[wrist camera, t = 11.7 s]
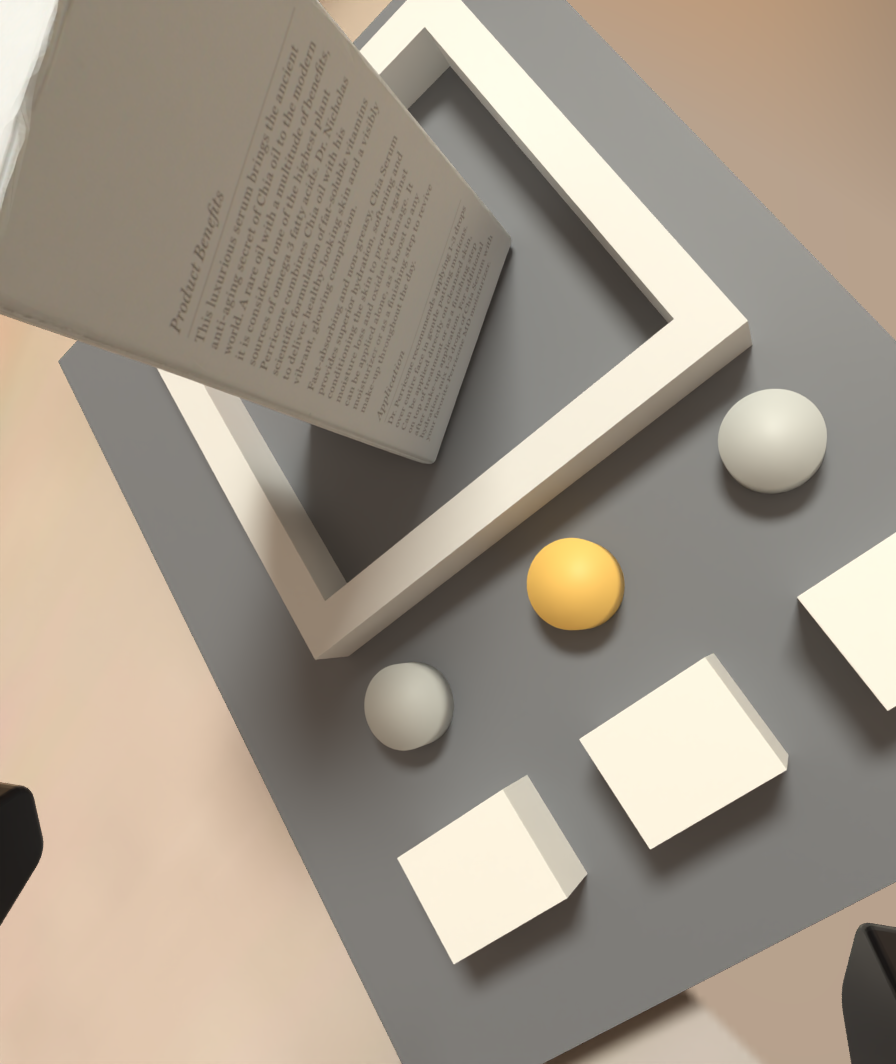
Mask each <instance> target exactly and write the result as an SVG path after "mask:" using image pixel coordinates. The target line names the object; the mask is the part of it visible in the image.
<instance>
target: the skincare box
mask: <svg viewBox="0 0 896 1064" xmlns="http://www.w3.org/2000/svg"><path fill="white" fill-rule="evenodd" d="M511 240H512V239H511V236H510V235H509V234H508V232H507V231H506V230H505V229H504V227H503V226H502V225H501V224H500V222H499V221H498V220H497V219H496V218H495V216H494V215H493V214H492V213H491V211H490V210H489V209H488V208H487V207H486V205H485V204H484V203H483V202H482V200H481V199H480V198H479V197H478V196H477V194H476V193H475V192H474V191H473V190H472V188H471V187H470V186H469V184H468V183H467V182H466V181H465V180H464V179H463V177H462V176H461V175H460V174H459V172H458V171H457V170H456V169H455V168H454V166H453V165H452V164H451V163H450V161H449V160H448V159H447V158H446V157H445V155H444V154H443V153H442V152H441V151H440V149H439V148H438V147H437V145H436V144H435V143H434V142H433V141H432V139H431V138H430V137H429V136H428V134H427V133H426V132H425V131H424V129H423V128H422V127H421V126H420V124H419V123H418V122H417V121H416V119H415V118H414V117H413V116H412V115H411V113H410V112H409V111H408V110H407V109H406V107H405V106H404V105H403V104H402V103H401V101H400V100H399V99H398V97H397V96H396V95H395V94H394V93H393V91H392V90H391V89H390V88H389V86H388V85H387V84H386V83H385V82H384V80H383V79H382V78H381V76H380V75H379V74H378V73H377V71H376V70H375V69H374V68H373V67H372V66H371V64H370V63H369V62H368V61H367V60H366V58H365V57H364V56H363V55H362V54H361V52H360V51H359V50H358V49H357V48H356V46H355V45H354V44H353V43H352V42H351V40H350V39H349V38H348V37H347V35H346V34H345V33H344V32H343V30H342V29H341V28H340V27H339V25H338V24H337V23H336V22H335V21H334V19H333V18H332V17H331V16H330V15H329V14H328V12H327V11H326V10H325V9H324V7H323V6H322V5H321V3H320V2H319V1H318V0H0V314H2V315H4V316H7V317H10V318H13V319H16V320H19V321H22V322H24V323H27V324H30V325H33V326H36V327H39V328H42V329H45V330H48V331H51V332H54V333H57V334H60V335H62V336H65V337H68V338H71V339H74V340H77V341H80V342H83V343H86V344H89V345H92V346H95V347H98V348H101V349H103V350H106V351H109V352H112V353H115V354H118V355H121V356H124V357H127V358H130V359H133V360H136V361H139V362H141V363H144V364H147V365H150V366H153V367H156V368H159V369H161V370H164V371H167V372H170V373H173V374H175V375H178V376H181V377H184V378H187V379H189V380H192V381H195V382H198V383H200V384H203V385H206V386H209V387H212V388H214V389H217V390H220V391H223V392H225V393H228V394H231V395H234V396H236V397H239V398H242V399H245V400H248V401H250V402H253V403H256V404H258V405H261V406H264V407H266V408H269V409H272V410H274V411H277V412H280V413H283V414H285V415H288V416H291V417H293V418H296V419H299V420H301V421H304V422H307V423H309V424H312V425H315V426H318V427H321V428H323V429H326V430H329V431H332V432H334V433H337V434H340V435H343V436H346V437H348V438H351V439H354V440H357V441H360V442H362V443H365V444H368V445H371V446H374V447H376V448H379V449H382V450H385V451H388V452H391V453H394V454H397V455H400V456H402V457H405V458H408V459H411V460H414V461H417V462H421V463H425V464H432V463H434V462H435V460H436V458H437V455H438V452H439V449H440V446H441V443H442V440H443V437H444V434H445V431H446V428H447V425H448V423H449V420H450V417H451V414H452V411H453V408H454V405H455V402H456V399H457V396H458V393H459V390H460V388H461V385H462V382H463V379H464V376H465V373H466V371H467V368H468V365H469V362H470V359H471V356H472V353H473V350H474V348H475V345H476V342H477V339H478V336H479V333H480V330H481V327H482V325H483V322H484V319H485V316H486V313H487V310H488V307H489V305H490V302H491V299H492V296H493V293H494V291H495V288H496V285H497V282H498V279H499V276H500V273H501V270H502V267H503V265H504V262H505V259H506V256H507V254H508V251H509V248H510V245H511Z"/></svg>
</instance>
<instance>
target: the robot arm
mask: <svg viewBox="0 0 896 1064" xmlns="http://www.w3.org/2000/svg"><path fill="white" fill-rule="evenodd" d="M42 851H43V836H42V832H41V827H40V823H39V819H38V814H37V810H36V805H35V801H34V797H33V794H32V792H31V791H30V790H29V789H28V788H26V787H24V786H20V785H14V784H8V783H2V782H0V925H1V924H2V922H3V920H4V919H5V917H6V916H7V914H8V912H9V911H10V909H11V907H12V906H13V904H14V902H15V901H16V899H17V898H18V896H19V894H20V893H21V891H22V889H23V888H24V886H25V884H26V883H27V881H28V880H29V878H30V876H31V875H32V873H33V871H34V870H35V868H36V866H37V865H38V863H39V860H40V858H41V855H42ZM842 1008H843V1015H844V1022H845V1028H846V1034H847V1040H848V1046H849V1052H850V1058H851V1064H896V927H890V926H885V925H878V924H873V923H864V924H862V925H860V926H859V928H858V929H857V931H856V934H855V938H854V942H853V946H852V949H851V954H850V957H849V962H848V966H847V969H846V973H845V977H844V981H843V987H842Z"/></svg>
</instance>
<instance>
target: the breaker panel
mask: <svg viewBox="0 0 896 1064" xmlns="http://www.w3.org/2000/svg"><path fill="white" fill-rule="evenodd" d="M353 44H354V45H355V46H356V48H357V49H358V50H359V51H360V52H361V54H362V55H363V56H364V57H365V58H366V60H367V61H368V62H369V63H370V64H371V66H372V67H373V68H374V69H375V70H376V71H377V73H378V74H379V75H380V76H381V78H382V79H383V80H384V82H385V83H386V84H387V85H388V86H389V88H390V89H391V90H392V91H393V93H394V94H395V95H396V96H397V97H398V99H399V100H400V101H401V103H402V104H403V105H404V106H405V107H406V109H407V110H408V111H409V112H410V113H411V115H412V116H413V117H414V118H415V119H416V121H417V122H418V123H419V124H420V126H421V127H422V128H423V129H424V131H425V132H426V133H427V134H428V136H429V137H430V138H431V139H432V141H433V142H434V143H435V144H436V145H437V147H438V148H439V149H440V151H441V152H442V153H443V154H444V155H445V157H446V158H447V159H448V160H449V161H450V163H451V164H452V165H453V166H454V168H455V169H456V170H457V171H458V172H459V174H460V175H461V176H462V177H463V179H464V180H465V181H466V182H467V183H468V184H469V186H470V187H471V188H472V190H473V191H474V192H475V193H476V194H477V196H478V197H479V198H480V199H481V200H482V202H483V203H484V204H485V205H486V207H487V208H488V209H489V210H490V211H491V213H492V214H493V215H494V216H495V218H496V219H497V220H498V221H499V222H500V224H501V225H502V226H503V227H504V229H505V230H506V231H507V232H508V234H509V235H510V236H511V239H512V240H511V245H510V248H509V251H508V254H507V256H506V259H505V262H504V265H503V267H502V270H501V273H500V276H499V279H498V282H497V285H496V288H495V291H494V293H493V296H492V299H491V302H490V305H489V307H488V310H487V313H486V316H485V319H484V322H483V325H482V327H481V330H480V333H479V336H478V339H477V342H476V345H475V348H474V350H473V353H472V356H471V359H470V362H469V365H468V368H467V371H466V373H465V376H464V379H463V382H462V385H461V388H460V390H459V393H458V396H457V399H456V402H455V405H454V408H453V411H452V414H451V417H450V420H449V423H448V425H447V428H446V431H445V434H444V437H443V440H442V443H441V446H440V449H439V452H438V455H437V458H436V460H435V462H434V463H432V464H425V463H421V462H417V461H414V460H411V459H408V458H405V457H402V456H400V455H397V454H394V453H391V452H388V451H385V450H382V449H379V448H376V447H374V446H371V445H368V444H365V443H362V442H360V441H357V440H354V439H351V438H348V437H346V436H343V435H340V434H337V433H334V432H332V431H329V430H326V429H323V428H321V427H318V426H315V425H312V424H309V423H307V422H304V421H301V420H299V419H296V418H293V417H291V416H288V415H285V414H283V413H280V412H277V411H274V410H272V409H269V408H266V407H264V406H261V405H258V404H256V403H253V402H250V401H248V400H245V399H242V398H239V397H236V396H234V395H231V394H228V393H225V392H223V391H220V390H217V389H214V388H212V387H209V386H206V385H203V384H200V383H198V382H195V381H192V380H189V379H187V378H184V377H181V376H178V375H175V374H173V373H170V372H167V371H164V370H161V369H159V368H156V367H153V366H150V365H147V364H144V363H141V362H139V361H136V360H133V359H130V358H127V357H124V356H121V355H118V354H115V353H112V352H109V351H106V350H103V349H101V348H98V347H95V346H92V345H89V344H86V343H83V342H80V341H77V342H76V343H75V344H74V345H73V346H72V347H71V348H70V349H69V350H68V351H67V352H66V353H65V354H64V356H63V357H62V358H61V359H60V360H59V361H58V362H59V364H60V366H61V368H62V370H63V372H64V374H65V376H66V378H67V380H68V382H69V384H70V386H71V388H72V390H73V393H74V395H75V397H76V399H77V401H78V403H79V405H80V407H81V409H82V411H83V413H84V415H85V417H86V419H87V421H88V423H89V425H90V427H91V429H92V431H93V433H94V435H95V437H96V440H97V442H98V444H99V446H100V448H101V450H102V452H103V454H104V456H105V458H106V460H107V462H108V464H109V466H110V468H111V470H112V472H113V474H114V476H115V478H116V480H117V482H118V484H119V487H120V489H121V491H122V493H123V495H124V497H125V499H126V501H127V503H128V505H129V507H130V509H131V511H132V513H133V515H134V517H135V519H136V521H137V523H138V525H139V527H140V529H141V531H142V534H143V536H144V538H145V540H146V542H147V544H148V546H149V548H150V550H151V552H152V554H153V556H154V558H155V560H156V562H157V564H158V566H159V568H160V570H161V572H162V574H163V576H164V578H165V581H166V583H167V585H168V587H169V589H170V591H171V593H172V595H173V597H174V599H175V601H176V603H177V605H178V607H179V609H180V611H181V613H182V615H183V617H184V619H185V621H186V623H187V625H188V628H189V630H190V632H191V634H192V636H193V638H194V640H195V642H196V644H197V646H198V648H199V650H200V652H201V654H202V656H203V658H204V660H205V662H206V664H207V666H208V668H209V670H210V672H211V675H212V677H213V679H214V681H215V683H216V685H217V687H218V689H219V691H220V693H221V695H222V697H223V699H224V701H225V703H226V705H227V707H228V709H229V711H230V713H231V715H232V717H233V719H234V722H235V724H236V726H237V728H238V730H239V732H240V734H241V736H242V738H243V740H244V742H245V744H246V746H247V748H248V750H249V752H250V754H251V756H252V758H253V760H254V762H255V764H256V766H257V768H258V771H259V773H260V775H261V777H262V779H263V781H264V783H265V785H266V787H267V789H268V791H269V793H270V795H271V797H272V799H273V801H274V803H275V805H276V807H277V809H278V811H279V813H280V815H281V818H282V820H283V822H284V824H285V826H286V828H287V830H288V832H289V834H290V836H291V838H292V840H293V842H294V844H295V846H296V848H297V850H298V852H299V854H300V856H301V858H302V860H303V862H304V865H305V867H306V869H307V871H308V873H309V875H310V877H311V879H312V881H313V883H314V885H315V887H316V889H317V891H318V893H319V895H320V897H321V899H322V901H323V903H324V905H325V907H326V909H327V912H328V914H329V916H330V918H331V920H332V922H333V924H334V926H335V928H336V930H337V932H338V934H339V936H340V938H341V940H342V942H343V944H344V946H345V948H346V950H347V952H348V954H349V956H350V959H351V961H352V963H353V965H354V967H355V969H356V971H357V973H358V975H359V977H360V979H361V981H362V983H363V985H364V987H365V989H366V991H367V993H368V995H369V997H370V999H371V1001H372V1003H373V1006H374V1008H375V1010H376V1012H377V1014H378V1016H379V1018H380V1020H381V1022H382V1024H383V1026H384V1028H385V1030H386V1032H387V1034H388V1036H389V1038H390V1040H391V1042H392V1044H393V1046H394V1048H395V1050H396V1053H397V1055H398V1057H399V1059H400V1061H401V1063H402V1064H543V1063H545V1062H547V1061H549V1060H551V1059H553V1058H555V1057H557V1056H559V1055H560V1054H562V1053H564V1052H566V1051H568V1050H570V1049H572V1048H574V1047H576V1046H578V1045H580V1044H582V1043H584V1042H586V1041H588V1040H590V1039H592V1038H594V1037H595V1036H597V1035H599V1034H601V1033H603V1032H605V1031H607V1030H609V1029H611V1028H613V1027H615V1026H617V1025H619V1024H621V1023H623V1022H625V1021H627V1020H628V1019H630V1018H632V1017H634V1016H636V1015H638V1014H640V1013H642V1012H644V1011H646V1010H648V1009H650V1008H652V1007H654V1006H656V1005H658V1004H660V1003H662V1002H663V1001H665V1000H667V999H669V998H671V997H673V996H675V995H677V994H679V993H681V992H683V991H685V990H687V989H689V988H691V987H693V986H695V985H696V984H698V983H700V982H702V981H704V980H706V979H708V978H710V977H712V976H714V975H716V974H718V973H720V972H722V971H724V970H726V969H728V968H730V967H731V966H733V965H735V964H737V963H739V962H741V961H743V960H745V959H747V958H749V957H751V956H753V955H755V954H757V953H759V952H760V951H762V950H764V949H766V948H768V947H770V946H772V945H774V944H776V943H778V942H780V941H782V940H784V939H786V938H788V937H790V936H791V935H794V934H796V933H798V932H799V931H801V930H803V929H805V928H807V927H809V926H811V925H813V924H815V923H817V922H819V921H821V920H823V919H825V918H827V917H829V916H831V915H833V914H834V913H836V912H838V911H840V910H842V909H844V908H846V907H848V906H850V905H852V904H854V903H856V902H858V901H860V900H862V899H864V898H866V897H867V896H869V895H871V894H873V893H875V892H877V891H879V890H881V889H883V888H885V887H887V886H889V885H891V884H893V883H895V882H896V341H895V340H894V339H893V338H892V337H891V336H890V335H889V334H888V333H887V332H886V331H885V329H883V327H882V326H881V325H880V324H879V323H878V322H877V321H876V320H875V319H874V318H873V317H872V316H871V315H870V314H869V313H868V312H867V311H866V310H865V309H864V308H863V307H862V306H861V305H860V304H859V303H858V302H857V301H856V299H855V298H854V297H853V296H852V295H851V294H850V293H849V292H848V291H847V290H846V289H845V288H844V287H843V286H842V285H841V284H840V283H839V282H838V281H837V280H836V279H835V278H834V277H833V276H832V275H831V274H830V273H829V272H828V271H827V270H826V269H825V268H824V266H823V265H822V264H821V263H820V262H819V261H818V260H817V259H816V258H815V257H814V256H813V255H812V254H811V253H810V252H809V251H808V250H807V249H806V248H805V247H804V246H803V245H802V244H801V243H800V242H799V241H798V240H797V239H796V238H795V237H794V235H793V234H791V232H790V231H789V230H788V229H787V228H786V227H785V226H784V225H783V224H782V223H781V222H780V221H779V220H778V219H777V218H776V217H775V216H774V215H773V214H772V213H771V212H770V211H769V210H768V209H767V208H766V207H765V206H764V204H763V203H761V201H760V200H759V199H758V198H757V197H756V196H755V195H754V194H753V193H752V192H751V191H750V190H749V189H748V188H747V187H746V186H745V185H744V184H743V183H742V182H741V181H740V180H739V179H738V178H737V177H736V176H735V175H734V174H733V172H732V171H731V170H730V169H729V168H728V167H727V166H726V165H725V164H724V163H723V162H722V161H721V160H720V159H719V158H718V157H717V156H716V155H715V154H714V153H713V152H712V151H711V150H710V149H709V148H708V147H707V146H706V145H705V144H704V143H703V141H702V140H701V139H700V138H699V137H697V135H696V134H695V133H694V132H693V131H692V130H691V129H690V128H689V127H688V126H687V125H686V124H685V123H684V122H683V121H682V120H681V119H680V118H679V117H678V116H677V115H676V114H675V113H674V111H673V110H672V109H671V108H669V106H668V105H667V104H666V103H665V102H664V101H663V100H662V99H661V98H660V97H659V96H658V95H657V94H656V93H655V92H654V91H653V90H652V89H651V88H650V87H649V86H648V85H647V84H646V83H645V82H644V81H643V79H642V78H641V77H640V76H639V75H638V74H637V73H636V72H635V71H634V70H633V69H632V68H631V67H630V66H629V65H628V64H627V63H626V62H625V61H624V60H623V59H622V58H621V57H620V56H619V55H618V54H617V53H616V52H615V51H614V50H613V49H612V47H611V46H609V44H608V43H607V42H606V41H605V40H604V39H603V38H602V37H601V36H600V35H599V34H598V33H597V32H596V31H595V30H594V29H593V28H592V27H591V26H590V25H589V24H588V23H587V22H586V21H585V20H584V19H583V18H582V16H581V15H579V13H578V12H577V11H576V10H575V9H574V8H573V7H572V6H571V5H570V4H569V3H568V2H567V1H566V0H392V1H391V2H390V3H389V4H388V6H387V7H386V8H385V9H384V10H383V11H382V12H381V13H380V14H379V15H378V16H377V17H376V19H375V20H374V21H373V22H372V23H371V24H370V25H369V26H368V27H367V28H366V29H365V30H364V31H363V33H362V34H361V35H360V36H359V37H358V38H357V39H356V40H355V41H354V42H353Z"/></svg>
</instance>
